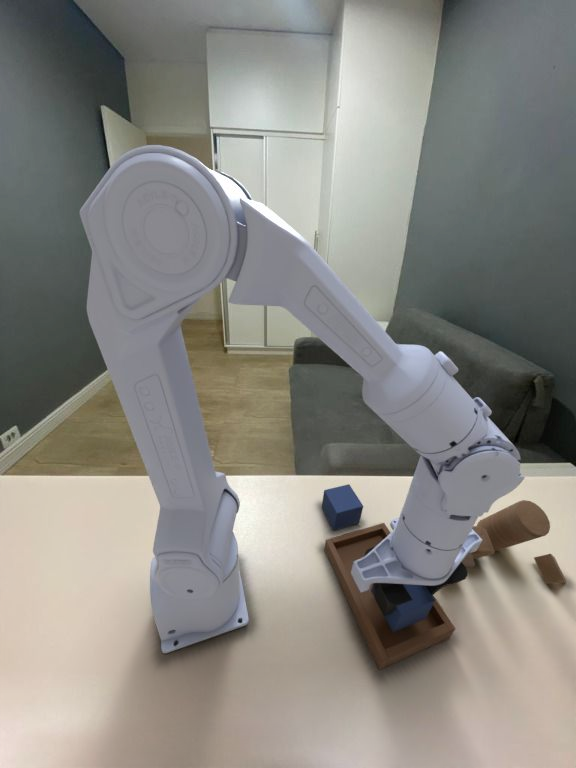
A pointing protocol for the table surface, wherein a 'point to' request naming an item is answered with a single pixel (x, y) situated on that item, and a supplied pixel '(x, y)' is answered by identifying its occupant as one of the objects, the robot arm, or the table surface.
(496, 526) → the wooden block set
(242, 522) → the table surface
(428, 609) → the blue cube
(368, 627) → the frame
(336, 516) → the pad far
